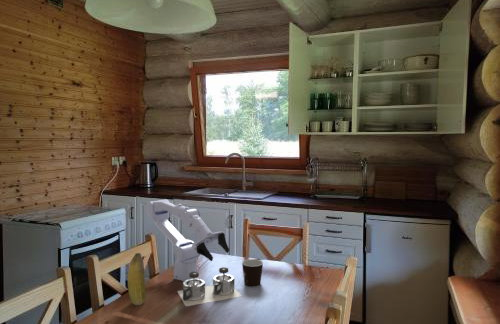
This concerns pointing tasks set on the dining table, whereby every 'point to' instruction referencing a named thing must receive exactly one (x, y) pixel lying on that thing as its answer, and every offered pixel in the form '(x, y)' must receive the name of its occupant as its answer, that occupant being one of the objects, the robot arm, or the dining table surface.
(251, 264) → the coffee mug
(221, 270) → the cylinder
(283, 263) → the dining table surface
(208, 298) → the serving board
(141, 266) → the vegetable
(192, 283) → the near plunger
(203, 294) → the near pot
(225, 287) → the far pot
